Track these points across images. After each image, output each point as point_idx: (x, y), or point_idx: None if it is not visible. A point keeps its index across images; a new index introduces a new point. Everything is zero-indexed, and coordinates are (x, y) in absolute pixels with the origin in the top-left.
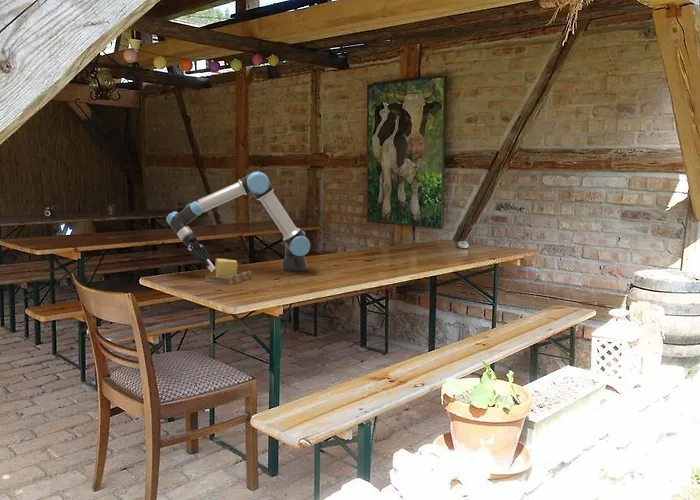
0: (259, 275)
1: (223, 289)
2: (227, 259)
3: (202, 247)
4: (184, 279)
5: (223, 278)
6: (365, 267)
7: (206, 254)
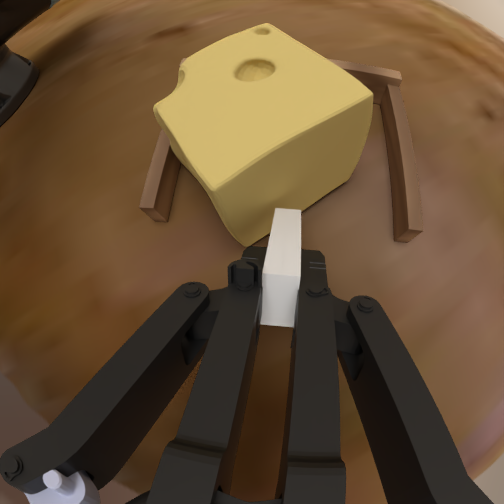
0: (109, 100)
1: (470, 104)
2: (168, 110)
3: (78, 461)
4: None
5: (405, 112)
6: (17, 36)
7: (176, 342)
